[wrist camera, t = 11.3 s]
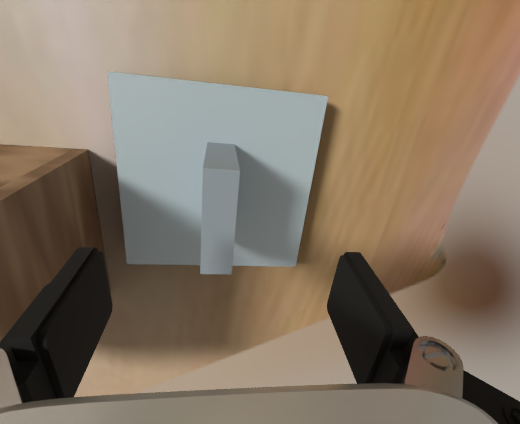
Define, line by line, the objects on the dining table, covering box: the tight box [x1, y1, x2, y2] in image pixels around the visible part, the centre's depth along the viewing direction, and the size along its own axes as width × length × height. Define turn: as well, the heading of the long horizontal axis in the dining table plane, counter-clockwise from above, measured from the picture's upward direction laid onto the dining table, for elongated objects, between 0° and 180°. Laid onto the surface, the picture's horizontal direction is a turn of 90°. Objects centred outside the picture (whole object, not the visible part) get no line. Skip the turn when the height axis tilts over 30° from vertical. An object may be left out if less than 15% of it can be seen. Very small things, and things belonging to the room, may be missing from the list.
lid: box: [107, 72, 328, 274], centre depth 21 cm, size 15×15×9 cm
